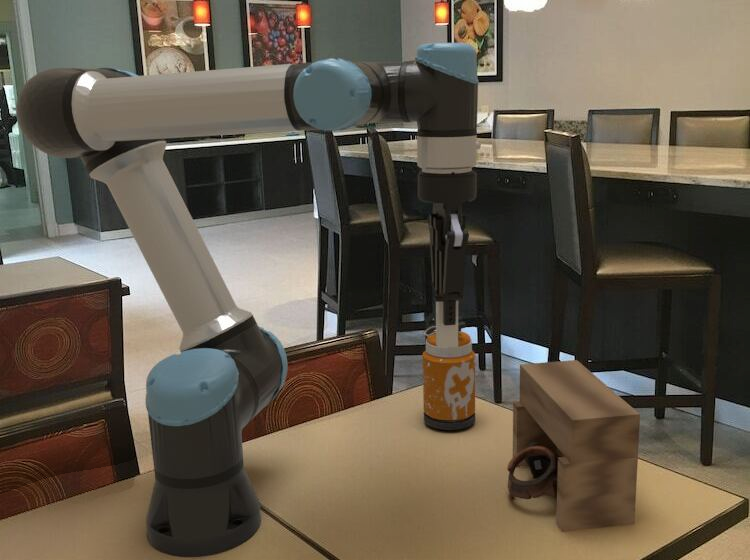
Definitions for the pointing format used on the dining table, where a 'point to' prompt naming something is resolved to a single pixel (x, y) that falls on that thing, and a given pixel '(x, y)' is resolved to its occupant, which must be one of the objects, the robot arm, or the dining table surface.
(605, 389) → the hutch
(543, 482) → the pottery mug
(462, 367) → the canister
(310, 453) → the dining table surface
